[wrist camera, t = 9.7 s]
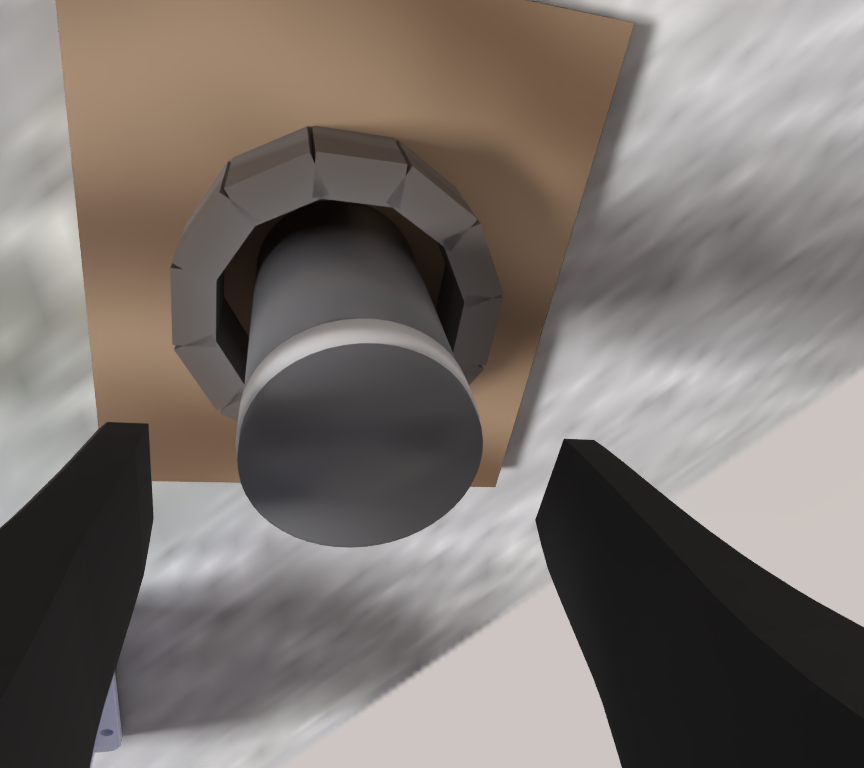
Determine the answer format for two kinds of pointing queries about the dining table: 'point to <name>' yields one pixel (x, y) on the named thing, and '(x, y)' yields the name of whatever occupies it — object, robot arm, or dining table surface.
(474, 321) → the mount
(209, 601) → the dining table surface
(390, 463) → the lens
